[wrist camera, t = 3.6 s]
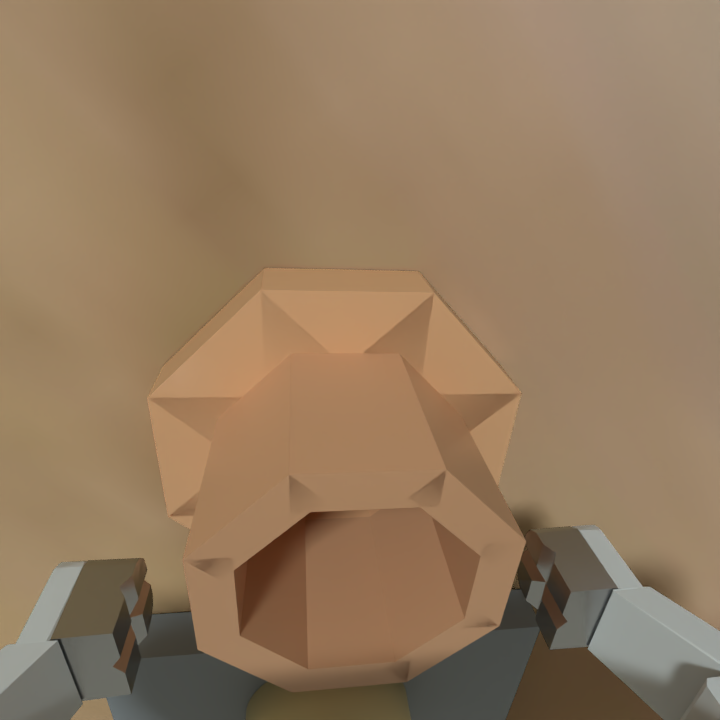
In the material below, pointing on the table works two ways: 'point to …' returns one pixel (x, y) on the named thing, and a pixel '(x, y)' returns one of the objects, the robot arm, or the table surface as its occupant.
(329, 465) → the octagonal tube stub
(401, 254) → the table surface
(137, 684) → the carrier plate
